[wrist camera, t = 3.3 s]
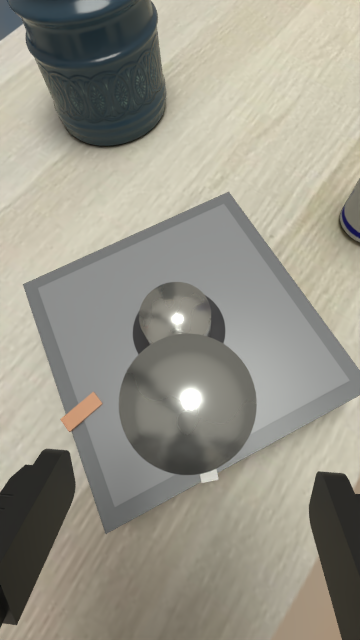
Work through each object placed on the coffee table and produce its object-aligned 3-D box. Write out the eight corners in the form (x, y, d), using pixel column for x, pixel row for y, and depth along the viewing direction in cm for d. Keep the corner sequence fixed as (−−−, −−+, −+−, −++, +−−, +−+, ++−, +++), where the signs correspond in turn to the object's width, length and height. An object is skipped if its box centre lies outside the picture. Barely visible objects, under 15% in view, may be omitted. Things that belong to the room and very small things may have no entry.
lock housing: (49, 311, 29) (16, 283, 24) (225, 230, 31) (229, 188, 26) (124, 522, 22) (100, 544, 17) (343, 402, 24) (378, 391, 19)
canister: (93, 167, 35) (-5, -75, 19) (45, 106, 40) (-68, -131, 23) (188, 114, 37) (175, -147, 21) (132, 62, 42) (84, -186, 25)
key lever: (141, 305, 22) (70, 153, 11) (202, 293, 22) (198, 125, 11) (167, 463, 18) (100, 495, 7) (241, 447, 18) (302, 452, 7)
